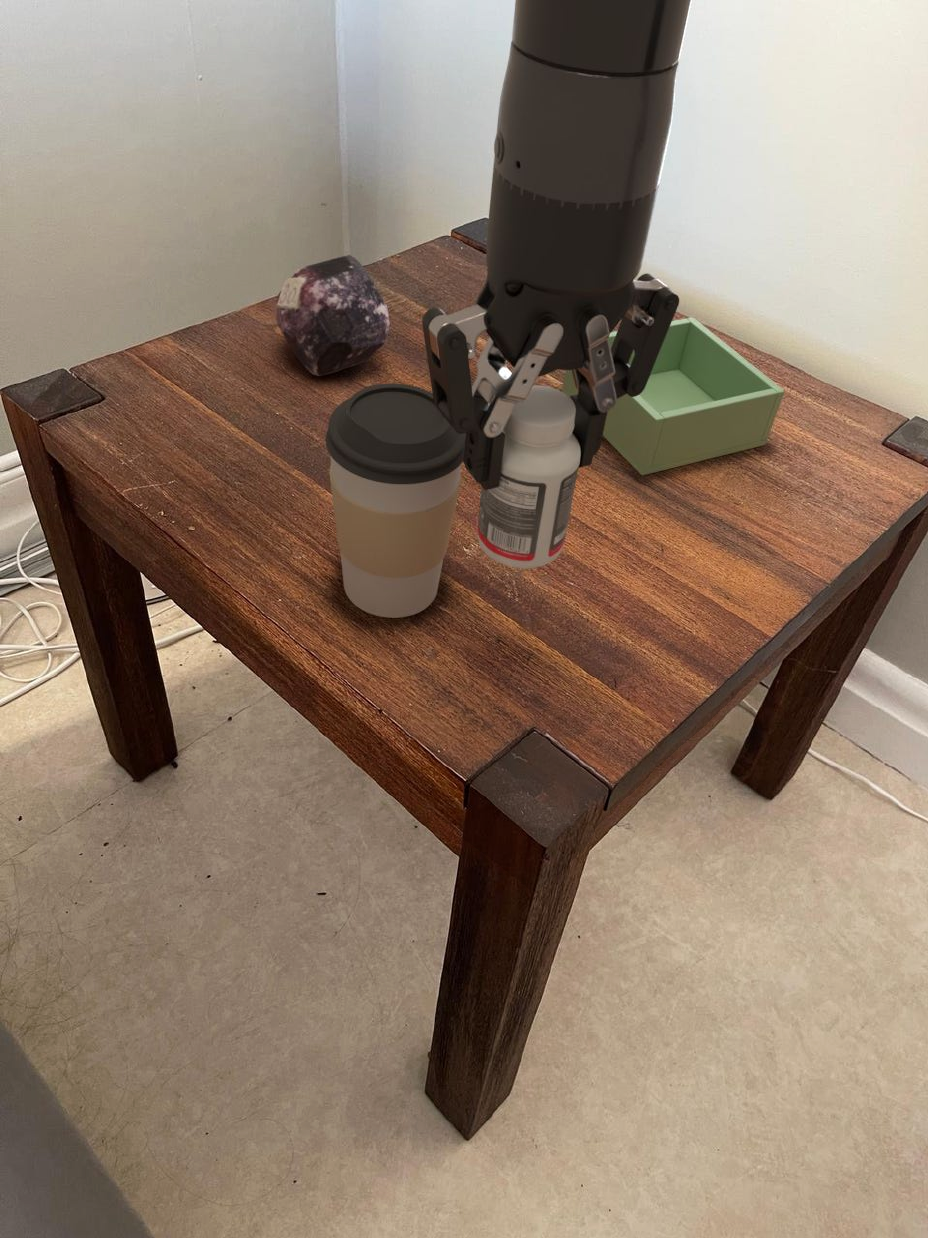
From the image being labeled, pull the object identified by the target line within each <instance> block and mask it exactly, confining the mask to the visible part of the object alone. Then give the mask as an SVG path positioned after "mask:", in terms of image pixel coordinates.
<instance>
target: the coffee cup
mask: <svg viewBox="0 0 928 1238" xmlns="http://www.w3.org/2000/svg"><path fill="white" fill-rule="evenodd" d="M465 437H466V433H464V434H459V433H457V432H456V431H455V430H454V429H453V427H452V426H451V425H450V424H449V422H448V421H447V420H446V419H445V418H444V416H443V415H442V414H441V413H440V411H439V410H438V409H437V408H436V406H435V405H434V399H433V393H432V391H429V390H427V389H424V388H421V387H418V386H415V385H410V384H405V383H380V384H375V385H371V386H367V387H365V388H362V389H360V390H359V391H357V392H355V393H354V394H353V395H352V396H350V397H349V398H347V399H346V400H344V401H342V402H341V403H340V404H338V405H337V407H336V408H335V409H334V410H333V411H332V412H331V414H330V416H329V419H328V427H327V430H326V433H325V439H324V440H325V446H326V450H327V452H328V454H329V456H330V457H329V458H330V467H329V481H330V482H329V483H330V489H331V498H332V506H333V507H332V508H333V516H334V524H335V532H336V540H337V546H338V549H339V552H340V561H341V563H340V564H341V571H342V573H341V574H342V579H343V589H344V592H345V594H346V596H347V598H348V599H349V600H350V602H351V603H352V604H353V605H354V606H356V607H357V608H359V609H360V610H361V611H364V612H365V613H368V614H370V615H373V616H377V617H381V618H392V619H397V618H405V617H410V616H413V615H416V614H419V613H421V612H422V611H424V610H425V609H427V608H428V607H429V606H430V605H431V604H432V603H433V602H434V601H435V598H436V596H437V594H438V588H439V585H440V578H441V574H442V568H443V563H444V559H445V556H446V555H447V552H448V548H449V543H450V537H451V532H452V527H453V523H454V517H455V513H456V508H457V503H458V498H459V493H460V489H461V484H462V472H461V470H462V465H463V463H464V462H463V459H464V448H465Z"/></svg>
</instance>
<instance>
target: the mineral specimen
mask: <svg viewBox="0 0 928 1238" xmlns="http://www.w3.org/2000/svg"><path fill="white" fill-rule="evenodd" d="M276 297H277V300H276V307H275V320H276V323H277V326H278V328H279V330H280V332H281V334H282V336H283V337H284V339H285V341H286V343H287V344H288V345H289V347H290V349H291V350H292V352H293V353H294V354H295V356H296V357H297V359H298V360H299V362H300V363H301V365H302V366H303V367H304V368H305V370H307V371H308V372H309V373H311V375H314V376H317V377H321V376H325V375H329V374H334V373H337V372H340V371H343V370H345V369H349V368H351V367H354V366H357V365H358V366H359V365H360V364H364V363H366V362H367V361H369V360H370V359H371V358H372V357H373V356H374V355H375V354H376V353H377V352H378V350H380V349H381V348H382V347H383V346H384V345H385V344H386V342H387V339H388V335H389V331H390V318H389V309H388V306H387V304H386V302H385V300H384V298H383V296H382V294H381V293H380V292H379V290H378V288H377V287H376V285H375V282H374V281H373V279H372V278H371V276H370V275H369V273H368V272H367V270H366V269H365V267H364V266H363V265H362V264H361V262H360V261H359V260H358V259H357V258H355V257H354V256H353V255H351V254H347V255H343V256H338V257H335V258H331V259H327V260H324V261H321V262H317V263H313V264H309V265H306V266H303V267H299V268H297V269H296V270H295V272H294V273H293V274H292V275H291V277H289V278H287V279H286V280H285V281H284V283H283V286H282V288H281V290H280V291H279V292H278V294H277V296H276Z"/></svg>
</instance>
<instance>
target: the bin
mask: <svg viewBox="0 0 928 1238" xmlns="http://www.w3.org/2000/svg"><path fill="white" fill-rule="evenodd" d="M617 331H618V330H615V331H614V330H613V331H612V332H611V333H610V336H609V343H610V348H611V347H612V344H613V342H614V339H615V336H616V334H617ZM634 354H635V352H634V350H633V352H632V355H631V358H630V360H629V363H628V365H629V366H631V363H632V360H633V358H634ZM578 391H579V390H578V389H577V388H576V386H575V382H574V378H573V374H572V370H564V376H563V381H562V388H561V392H563V393H564V394H566V395H567V396H569V397H571V395H575V394H578ZM785 392H786V391H785V390H784V389H783V388H782V387H780V385H778V384H777V383H776V382H775V381H773V380H772V379H771V378H769V377H768V376H767V375H766V374H764V373H763V372H762V371H761V370H759V369H758V368H757V367H755V366H754V365H753V364H752V363H751V362H749V361H748V360H747V359H746V358H744V357H743V356H742V355H741V354H739V353H738V352H737V351H735V350H734V349H733V348H732V347H731V346H729V345H728V344H726V342H724V341H723V340H722V339H720V338H719V337H718V336H717V335H715V334H714V333H713V332H711V330H709V329H708V328H707V327H705V325H703V324H702V323H700V322H699V321H698V320H697V319H696V318H694V317H693V316H692V317H687V318H681V319H675V320H672V322H671V325H670V327H669V330H668V332H667V335H666V337H665V339H664V342H663V344H662V347H661V349H660V352H659V354H658V357H657V359H656V362H655V364H654V367H653V369H652V372H651V374H650V377H649V379H648V381H647V384H646V386H645V389H644V390H643V392H642V393H641V394H639V395H638V396H635V397H631V396H629V395H628V394H625V395H624V396H622V397H620V398H618V399H617V401H616V404H615V406H614V407H613V408H612V409H611V410H610V411H608V412H607V417H606V422H605V427H604V431H603V436H602V437H604V439H605V440H606V441H607V442H608V443H609V444H610V445H611V446H612V447H613V448H614V449H615V450H616V451H617V452H618V453H619V454H620V455H621V456H622V457H623V458H624V459H625V460H626V461H627V462H628V463H629V464H630V465H631V466H632V468H634V469H635V470H636V471H637V473H638V474H639V475H640V476H646V475H650V474H654V473H657V472H658V473H659V472H661V471H665V470H666V471H667V470H671V469H675V468H677V467H678V468H679V467H682V466H687V465H691V464H694V463H698V462H702V461H706V460H710V459H715V458H718V457H723V456H726V455H730V454H734V453H738V452H742V451H747V450H751V449H754V448H758V447H762V446H763V447H764V446H766V445H767V442H768V439H769V436H770V433H771V431H772V428H773V425H774V422H775V420H776V417H777V414H778V412H779V409H780V406H781V404H782V401H783V398H784V395H785Z"/></svg>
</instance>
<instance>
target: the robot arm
mask: <svg viewBox="0 0 928 1238" xmlns="http://www.w3.org/2000/svg"><path fill="white" fill-rule="evenodd" d="M691 4H692V0H515V1H514V10H513V11H514V12H513V22H512V32H511V42H510V47H509V54H508V55H509V56H508V60H507V65H506V69H505V74H504V78H503V82H502V86H501V87H502V88H501V92H500V98H499V105H498V113H497V123H496V124H497V125H496V134H495V139H494V143H493V154H494V156H493V157H494V158H493V166H492V167H493V168H492V176H491V189H490V200H489V211H488V220H487V230H486V231H487V233H486V241H485V253H486V256H485V257H486V270H487V271H486V272H487V273H486V279H485V281H484V284H483V287H482V288H481V290H480V292H479V293H478V295H477V297H476V300H475V305H472V306H469V307H466V308H463V309H461V310H458V311H455V312H452V313H449V314H447V313H445V312H444V310H443V309H441V308H439V307H432V308H429V309H428V310H427V311H426V312H425V313H424V314H423V315H422V319H421V325H422V332H423V338H424V344H425V351H426V359H427V364H428V372H429V379H430V385H431V393H433V399H434V405H435V406H436V408H437V409H438V410H439V411H440V413H441V414H442V415H443V416H444V418H445V419H446V420H447V421H448V422H449V424H450V425H451V426H452V427H453V429H454V430H455V431H456V432H457V433H459V434H464V433H466V437H465V448H464V459H463V462H462V463H463V465H464V468H465V469H466V471H467V472H468V473H469V475H470V476H471V477H472V478H473V480H474V481H475V482H476V484H479V486H481V488H482V487H483V489H484V490H489V489H493V488H497V487H498V486H499V482H500V474H501V466H502V458H503V450H504V442H505V434H504V433H503V432H502V431H503V429H504V427H505V425H506V423H507V421H508V419H509V418H510V416H511V414H512V412H513V410H514V408H515V406H516V404H517V403H518V402H523V401H525V400H526V398H527V397H528V395H529V393H530V391H531V389H532V387H533V385H535V383H536V381H537V379H538V378H539V377H543V376H546V375H549V374H550V373H553V372H555V371H557V370H562V371H565V370H572V374H573V378H574V382H575V386H576V388H577V389H578V390H579V391H578V394H575V395H571V397H570V398H571V399H572V401H573V402H574V404H575V408H576V413H575V421H574V429H573V432H572V433H573V435H574V436H575V437H576V439H577V440H578V443H579V445H580V450H581V456H580V464H579V469H581V468H584V467H589V466H591V465H592V462H593V458H594V456H596V455H597V453H598V452H599V450H600V448H601V445H602V441H603V440H602V439H603V437H604V436H603V431H604V427H605V422H606V417H607V412H608V411H610V410H611V409H612V408H613V407H614V406H615V404H616V401H617V399H618V398H620V397H622V396H624V395H625V394H628V395H629V396H631V397H635V396H638V395H639V394H641V393H642V392H643V390H644V389H645V386H646V384H647V381H648V379H649V377H650V374H651V372H652V369H653V367H654V364H655V362H656V359H657V357H658V354H659V352H660V349H661V347H662V344H663V342H664V339H665V337H666V335H667V332H668V330H669V327H670V325H671V322H672V321H674V320H673V319H674V317H675V315H676V312H677V310H678V307H679V304H680V296H679V295H678V294H677V293H675V292H674V291H673V290H672V289H671V288H670V287H669V286H667V285H666V284H665V283H663V282H662V280H660V279H657V278H656V277H655V276H654V275H652V274H651V273H643V274H641V275H640V276H638V275H639V273H640V272H641V270H642V266H643V263H644V258H645V253H646V249H647V245H648V244H647V243H648V238H649V235H650V230H651V224H652V220H653V214H654V210H655V207H656V200H657V196H658V192H659V187H660V182H661V177H662V173H663V169H664V165H665V163H664V162H665V159H666V154H667V151H668V150H667V149H668V145H669V140H670V136H671V129H672V123H673V119H674V118H673V117H674V109H675V98H676V97H675V96H676V95H675V94H676V85H677V83H676V82H677V75H678V69H679V60H680V57H681V53H682V48H683V42H684V39H685V38H684V37H685V33H686V28H687V25H688V24H687V23H688V19H689V14H690V8H691ZM637 277H638V278H637ZM636 278H637V279H636ZM635 279H636V280H635ZM618 324H619V326H618V329H617V330H616V331H617V334H616V336H615V339H614V342H613V344H612V347H611V348H610V343H609V336H610V333H611V332H614V329H615V328H616V327H617V325H618ZM483 332H486V334H487V335H488V338H487V340H486V343H485V345H484V347H483V349H482V351H481V353H480V355H479V357H478V360H477V363H476V370H477V371H476V372H477V375H476V377H475V380H474V381H473V384H472V379H471V370H470V361H471V360H474V359H476V356H477V351H476V348H477V342H478V341H477V340H478V339H479V337H480V335H481V334H482V333H483ZM633 350H634V352H635V354H634V358H633V360H632V363H631V366H629V365H628V363H629V360H630V358H631V355H632V352H633ZM506 361H507V362H508V363H509V365H510V366H512V367H513V370H512V371H511V370H510V369H509V368H508V367H507V363H506Z"/></svg>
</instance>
